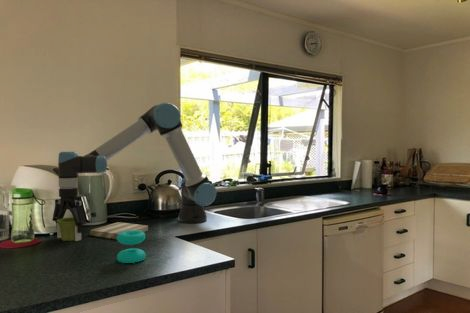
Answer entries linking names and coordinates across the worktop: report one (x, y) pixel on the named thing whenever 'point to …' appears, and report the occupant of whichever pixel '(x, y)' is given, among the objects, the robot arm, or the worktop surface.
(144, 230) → the striped wooden cutting board
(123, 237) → the donuts
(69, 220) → the plant pot
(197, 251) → the worktop surface
